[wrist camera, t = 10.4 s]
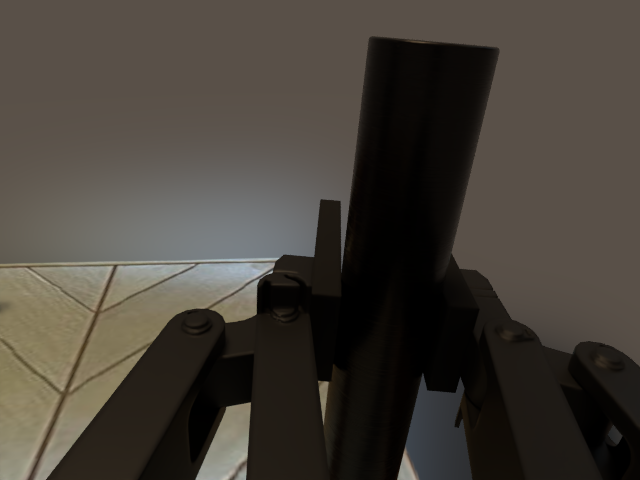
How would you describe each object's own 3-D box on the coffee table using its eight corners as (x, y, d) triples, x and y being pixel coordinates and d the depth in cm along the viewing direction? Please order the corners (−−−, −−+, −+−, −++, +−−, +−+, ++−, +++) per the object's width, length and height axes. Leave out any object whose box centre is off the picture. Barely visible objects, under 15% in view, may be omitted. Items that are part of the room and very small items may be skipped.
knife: (365, 579, 20) (484, 46, 10) (384, 649, 18) (561, 53, 8) (280, 598, 19) (322, 31, 9) (289, 673, 17) (357, 35, 7)
